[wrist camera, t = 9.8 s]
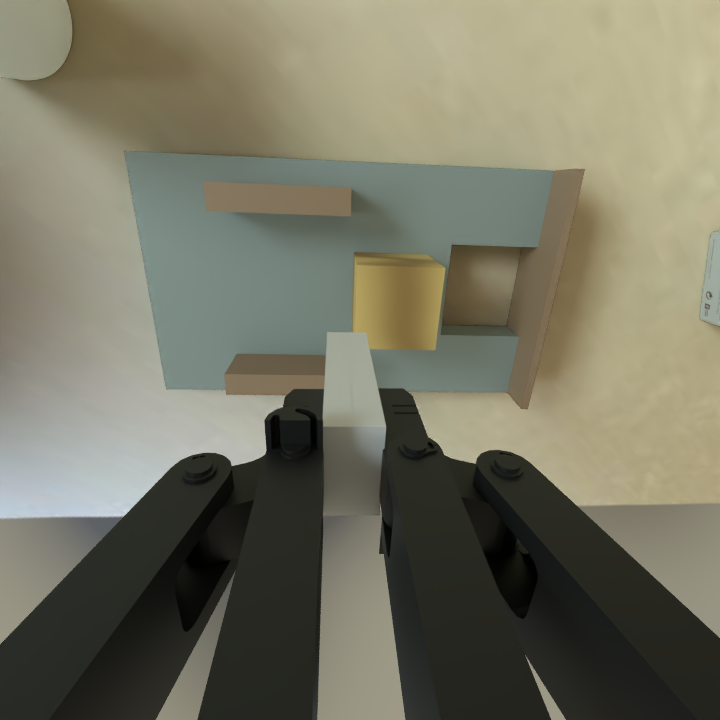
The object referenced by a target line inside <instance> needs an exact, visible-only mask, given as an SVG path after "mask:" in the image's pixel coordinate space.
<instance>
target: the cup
mask: <svg viewBox="0 0 720 720" xmlns="http://www.w3.org/2000/svg"><path fill="white" fill-rule="evenodd" d="M71 43H72V20H71V14H70V9H69V6H68V3H67V0H0V77H4V78H12V79H20V80H39V79H43V78H46V77H48V76H50V75H52V74H53V73H55V72H56V71H57V70H58V69H59V68H60V67H61V66H62V65H63V63H64V62H65V60H66V58H67V56H68V54H69V51H70V47H71Z"/></svg>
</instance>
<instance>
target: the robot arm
mask: <svg viewBox="0 0 720 720" xmlns="http://www.w3.org/2000/svg"><path fill="white" fill-rule="evenodd" d="M265 434H266V449H267V451H266V455H264V456H263V457H261V458H259V459H257V460H255V461H252V462H248V463H245V464H240V465H235V466H231V462H230V460H228V459H227V458H226V457H225V456H223V455H220V454H217V453H201V454H196V455H192V456H189V457H187V458H185V459H182V460H180V461H179V462H178V463H177V464H175V465H174V466H173V467H171V468H170V470H169V471H168V472H167V473H166V474H165V475H164V476H163V477H162V478H161V479H160V480H159V481H158V482H157V483H156V484H155V485H154V486H153V487H152V488H151V489H150V490H149V491H148V492H147V493H146V494H145V495H144V496H143V497H142V498H141V499H140V501H139V502H138V503H137V504H136V505H135V506H134V507H133V508H132V509H131V510H130V511H129V512H128V513H127V514H126V515H125V516H124V517H123V518H122V519H121V520H120V521H119V522H118V523H117V524H116V525H115V526H114V527H113V528H112V530H111V531H110V532H109V533H108V534H107V535H106V536H105V537H104V538H103V539H102V540H101V541H100V542H99V543H98V544H97V545H96V546H95V547H94V548H93V549H92V550H91V551H90V552H89V553H88V554H87V556H85V557H84V558H83V559H82V561H81V562H80V563H79V564H78V565H77V566H76V567H75V568H74V569H73V570H72V571H71V572H70V573H69V574H68V575H67V576H66V577H65V578H64V579H63V580H62V581H61V582H60V583H59V584H58V585H57V587H55V588H54V589H53V590H52V592H51V593H50V594H49V595H48V596H47V597H46V598H45V599H44V600H43V601H42V602H41V603H40V604H39V605H38V606H37V607H36V608H35V609H34V610H33V611H32V612H31V613H30V614H29V615H28V617H26V618H25V619H24V620H23V621H22V622H21V624H20V625H19V626H18V627H17V628H16V629H15V630H14V631H13V632H12V633H11V634H10V635H9V636H8V637H7V638H6V639H5V640H4V641H3V642H2V643H1V644H0V720H155V719H156V718H157V716H158V714H159V712H160V711H161V709H162V707H163V705H164V703H165V701H166V699H167V697H168V696H169V694H170V692H171V690H172V688H173V686H174V684H175V682H176V681H177V679H178V677H179V675H180V673H181V671H182V669H183V667H184V666H185V664H186V662H187V660H188V658H189V656H190V654H191V653H192V651H193V648H194V647H195V645H196V643H197V641H198V639H199V638H200V636H201V634H202V632H203V630H204V628H205V626H206V624H207V623H208V621H209V619H210V617H211V615H212V613H213V611H214V610H215V607H216V606H217V604H218V602H219V600H220V598H221V596H222V595H223V592H224V591H225V589H226V587H227V585H228V583H229V581H230V580H231V578H232V576H233V574H234V572H235V570H236V572H235V576H234V579H233V583H232V587H231V591H230V595H229V599H228V603H227V607H226V611H225V615H224V618H223V622H222V626H221V631H220V634H219V638H218V642H217V646H216V650H215V654H214V657H213V661H212V665H211V669H210V674H209V677H208V681H207V685H206V689H205V692H204V696H203V701H202V705H201V708H200V712H199V716H198V720H317V709H318V676H319V645H320V643H319V642H320V613H321V612H320V610H321V609H320V608H321V581H322V549H323V516H358V515H379V514H380V503H381V510H382V525H381V538H380V550H379V554H384V558H385V566H386V574H387V582H388V589H389V596H390V605H391V612H392V619H393V628H394V635H395V643H396V651H397V658H398V666H399V674H400V681H401V689H402V696H403V704H404V712H405V718H406V720H551V718H550V716H549V713H548V711H547V708H546V706H545V703H544V701H543V698H542V696H541V693H540V691H539V688H538V686H537V683H536V681H535V679H534V676H533V674H532V671H531V669H530V666H529V664H528V661H527V659H526V657H527V658H528V660H529V661H530V663H531V664H532V666H533V668H534V669H535V671H536V673H537V674H538V676H539V677H540V679H541V681H542V682H543V684H544V685H545V687H546V688H547V690H548V692H549V693H550V695H551V696H552V698H553V699H554V701H555V703H556V704H557V706H558V708H559V709H560V711H561V712H562V714H563V715H564V717H565V719H566V720H720V638H719V637H718V636H717V635H716V634H715V633H714V632H713V631H711V630H710V629H709V628H708V627H707V626H706V625H705V624H704V623H703V622H702V621H701V620H699V618H697V617H696V616H695V615H694V614H693V613H692V612H691V611H690V610H689V609H688V608H687V607H685V606H684V605H683V604H682V603H681V602H680V601H679V600H678V599H677V598H676V597H675V596H674V595H673V594H671V593H670V592H669V591H668V590H667V589H666V588H665V587H664V586H663V585H662V584H661V583H660V582H658V581H657V580H656V579H655V578H654V577H653V576H652V575H651V574H650V573H649V572H648V571H647V570H646V569H644V568H643V567H642V566H641V565H640V564H639V563H638V562H637V561H636V560H635V559H634V558H633V557H631V556H630V555H629V554H628V553H627V552H626V551H625V550H624V549H623V548H622V547H620V545H618V544H617V543H616V542H615V541H614V540H613V539H612V538H611V537H610V536H609V535H608V534H607V533H606V532H604V531H603V530H602V529H601V528H600V527H599V526H598V525H597V524H596V523H595V522H594V521H593V520H591V519H590V518H589V517H588V516H587V515H586V514H585V513H584V512H583V511H582V510H581V509H580V508H579V507H577V506H576V505H575V504H574V503H573V502H572V501H571V500H570V499H569V498H568V497H567V496H566V495H564V494H563V493H562V492H561V491H560V490H559V489H558V488H557V487H556V486H555V485H554V484H553V483H552V482H550V481H549V480H548V479H547V478H546V477H545V476H544V475H543V474H542V473H541V472H540V471H539V470H537V469H536V468H535V467H534V466H533V465H532V464H531V463H530V462H528V461H527V460H525V459H524V458H523V457H521V456H518V455H516V454H514V453H511V452H507V451H501V450H489V451H487V452H484V453H481V454H480V456H479V457H478V458H477V461H476V464H473V463H468V462H464V461H459V460H455V459H452V458H449V457H447V456H445V455H444V454H443V451H442V449H441V448H440V446H439V445H438V444H437V443H436V442H435V441H433V440H432V439H430V438H428V436H427V433H426V431H425V428H424V425H423V423H422V420H421V417H420V415H419V412H418V409H417V407H416V404H415V401H414V399H413V396H412V395H411V394H409V393H408V392H407V391H406V390H405V389H403V388H378V386H377V381H376V377H375V372H374V368H373V363H372V358H371V354H370V349H369V344H368V340H367V335H366V333H355V332H327V345H326V363H325V381H324V389H293V390H292V391H291V392H290V393H289V394H288V395H287V396H286V397H285V400H284V404H283V408H280V409H277V410H275V411H273V412H272V413H270V414H268V416H267V417H266V419H265ZM525 655H526V656H525Z"/></svg>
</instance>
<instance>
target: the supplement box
mask: <svg viewBox="0 0 720 720" xmlns="http://www.w3.org/2000/svg"><path fill="white" fill-rule="evenodd" d="M700 319H701V320H702V321H705V322H708V323H711V324H714V325H717V326H719V327H720V231H716V232H712V234H711V237H710V243H709V249H708V257H707V263H706V271H705V278H704V285H703V292H702V300H701V308H700Z"/></svg>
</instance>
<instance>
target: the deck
mask: <svg viewBox="0 0 720 720" xmlns="http://www.w3.org/2000/svg"><path fill="white" fill-rule="evenodd" d="M124 153H125V159H126V165H127V170H128V176H129V182H130V187H131V193H132V199H133V204H134V210H135V216H136V221H137V227H138V233H139V238H140V244H141V250H142V255H143V261H144V266H145V272H146V278H147V283H148V289H149V295H150V300H151V306H152V312H153V317H154V323H155V329H156V334H157V340H158V346H159V351H160V357H161V363H162V368H163V374H164V380H165V385H166V389H192V390H226V395H288V394H289V393H290V392H291V391H292V390H293V389H324V381H325V363H326V345H327V332H352V323H351V322H352V291H353V260H354V252H366V253H396V254H426V255H428V256H430V257H431V258H433V259H434V260H435V261H437V262H438V263H439V264H441V265H442V266H443V267H445V276H444V284H443V292H442V300H441V308H440V316H439V324H438V332H437V340H436V348H435V350H402V349H370V354H371V358H372V363H373V368H374V372H375V377H376V381H377V386H378V388H403V389H405V390H406V391H407V392H507V393H508V394H509V395H510V396H511V398H512V399H513V400H514V401H515V402H516V404H517V405H518V406H519V407H520V408H521V409H528V406H529V402H530V397H531V393H532V389H533V385H534V381H535V376H536V372H537V368H538V364H539V360H540V355H541V351H542V347H543V343H544V339H545V334H546V330H547V326H548V322H549V318H550V314H551V309H552V305H553V301H554V297H555V293H556V288H557V284H558V280H559V276H560V272H561V267H562V263H563V259H564V255H565V251H566V246H567V242H568V238H569V234H570V230H571V225H572V221H573V217H574V213H575V209H576V204H577V200H578V196H579V192H580V188H581V183H582V179H583V175H584V171H585V169H568V170H557V171H549V170H527V169H505V168H484V167H462V166H440V165H419V164H397V163H375V162H354V161H332V160H310V159H289V158H267V157H245V156H224V155H202V154H180V153H159V152H137V151H124ZM452 245H480V246H510V247H522V249H521V254H520V259H519V265H518V270H517V275H516V280H515V285H514V290H513V295H512V300H511V306H510V311H509V316H508V321H507V326H463V325H442V318H443V310H444V302H445V295H446V287H447V279H448V271H449V263H450V255H451V247H452Z"/></svg>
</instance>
